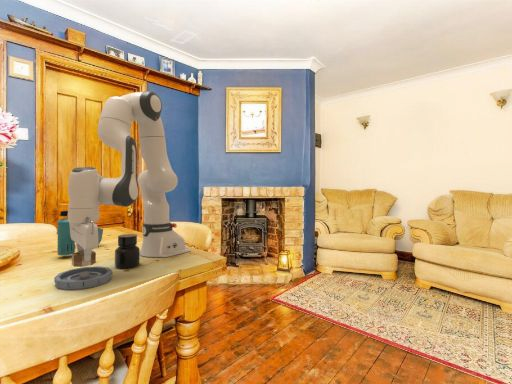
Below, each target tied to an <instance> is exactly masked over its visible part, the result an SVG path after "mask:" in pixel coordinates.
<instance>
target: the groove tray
mask: <svg viewBox="0 0 512 384" xmlns="http://www.w3.org/2000/svg"><path fill="white" fill-rule="evenodd" d="M112 277H113V270H112V269H111V268H109V267H108V266H107V267H106V266H98V265H96V266H84V267H77V268H76V267H75V268H72V269H68V270H65V271H62V272H59V273H58V274H57V275H55V276H54V284H55V288H56V289H59V290H64V291H79V290H87V289H91V288H96V287H100V286H103V285H105V284H107V283H108V282H111V280H112Z"/></svg>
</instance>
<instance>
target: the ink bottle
mask: <svg viewBox="0 0 512 384" xmlns="http://www.w3.org/2000/svg"><path fill="white" fill-rule="evenodd" d="M137 240H138V234H134V233H125V234H124V233H123V234H119V235H117V244H118V246H117V248H115V252H114V266H115V268H117V269H121V270H123V269H124V270H125V269H130V268H131V269H132V268H136V267H139V266H140V265H141V264H140V262H141V261H140V260H141V258H140V257H141V255H140V252H141V248H139V247H138V245H137V244H138V241H137Z"/></svg>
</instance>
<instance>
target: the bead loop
mask: <svg viewBox="0 0 512 384" xmlns="http://www.w3.org/2000/svg"><path fill="white" fill-rule="evenodd" d="M96 254H97V252H96V251H94V250H92V253H91V260H90V261H84V259H83V255H84V251H81V252H77V251H75V253H73V254H72V255H71V265H72V266H73V267H75V268H76V267H77V268H82V267H91V266H93V265H95V264H96V263H97V255H96Z"/></svg>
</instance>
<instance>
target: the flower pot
mask: <svg viewBox="0 0 512 384" xmlns="http://www.w3.org/2000/svg"><path fill="white" fill-rule="evenodd" d="M103 233H104V228H101V227H98V242H99V244H98V246H99V245H100V244H101V242H102V238H103V235H104V234H103Z"/></svg>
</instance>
